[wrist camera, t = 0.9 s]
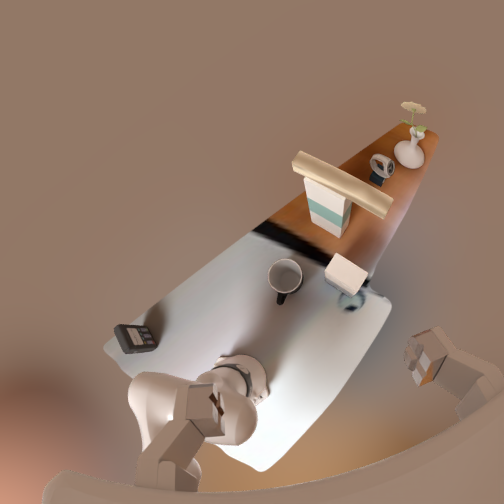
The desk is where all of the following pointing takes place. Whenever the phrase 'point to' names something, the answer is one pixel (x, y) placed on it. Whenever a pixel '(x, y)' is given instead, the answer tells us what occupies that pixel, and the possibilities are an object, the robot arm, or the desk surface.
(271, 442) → the desk surface
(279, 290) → the mug
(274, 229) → the desk surface
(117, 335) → the card reader
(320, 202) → the tower
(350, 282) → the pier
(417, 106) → the flower in vase
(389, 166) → the watch
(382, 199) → the batten
